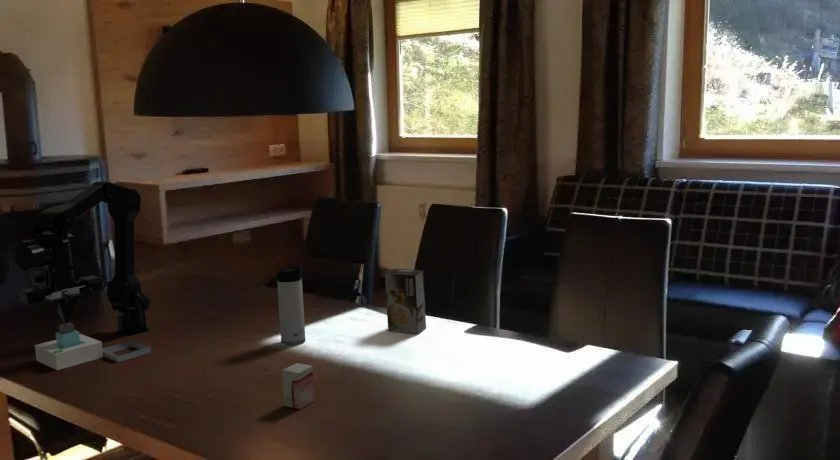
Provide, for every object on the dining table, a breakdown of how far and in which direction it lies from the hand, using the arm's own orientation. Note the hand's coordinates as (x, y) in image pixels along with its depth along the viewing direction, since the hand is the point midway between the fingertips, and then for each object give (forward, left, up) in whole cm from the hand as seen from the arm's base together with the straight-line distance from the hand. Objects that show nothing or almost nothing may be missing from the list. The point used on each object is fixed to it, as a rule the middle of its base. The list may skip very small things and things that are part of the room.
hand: (66, 322), depth 192 cm
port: (0, 0, -9) cm, 9 cm away
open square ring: (-10, +8, -9) cm, 16 cm away
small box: (-16, +69, -10) cm, 71 cm away
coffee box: (-67, +53, -10) cm, 86 cm away
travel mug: (-42, +36, -10) cm, 56 cm away
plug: (0, 0, -9) cm, 9 cm away
